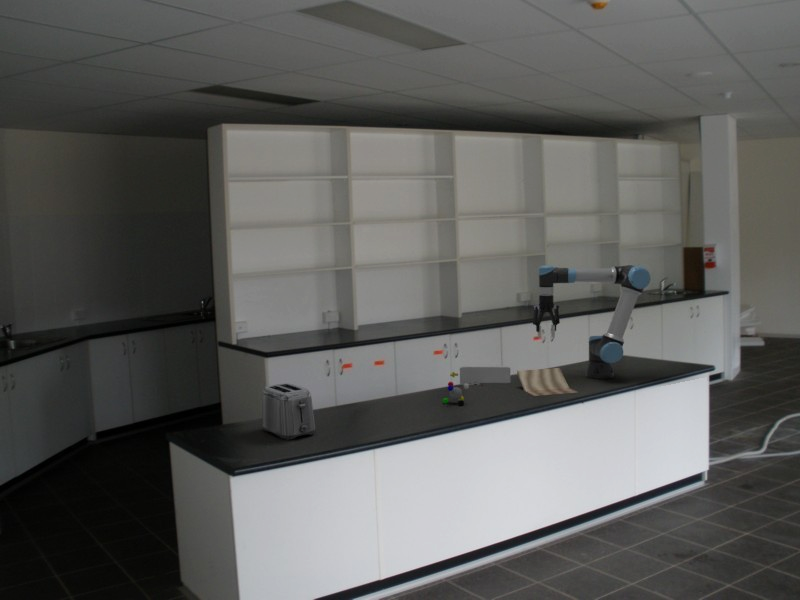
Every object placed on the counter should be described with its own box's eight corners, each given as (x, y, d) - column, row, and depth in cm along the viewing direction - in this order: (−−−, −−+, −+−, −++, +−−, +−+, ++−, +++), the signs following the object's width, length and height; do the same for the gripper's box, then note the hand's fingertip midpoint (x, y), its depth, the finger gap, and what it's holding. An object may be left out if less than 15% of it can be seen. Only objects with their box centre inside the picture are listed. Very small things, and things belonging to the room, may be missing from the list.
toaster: (285, 443, 307) (284, 396, 306) (254, 428, 331) (252, 384, 329) (321, 435, 317) (320, 390, 315) (288, 421, 341) (287, 379, 339)
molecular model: (472, 402, 372) (472, 382, 371) (459, 407, 361) (459, 387, 360) (452, 399, 378) (452, 380, 377) (439, 404, 368) (438, 384, 367)
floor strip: (569, 390, 393) (569, 388, 392) (578, 394, 383) (578, 392, 383) (526, 393, 387) (526, 391, 387) (534, 398, 377) (534, 395, 377)
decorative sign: (510, 384, 411) (510, 365, 410) (510, 385, 408) (510, 367, 407) (450, 383, 415) (450, 365, 414) (450, 385, 411) (449, 367, 410)
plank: (559, 369, 403) (559, 367, 403) (568, 389, 394) (569, 388, 393) (516, 372, 398) (517, 370, 397) (525, 393, 388) (526, 391, 387)
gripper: (560, 293, 412) (560, 335, 414) (525, 295, 407) (525, 337, 409) (566, 294, 404) (566, 337, 407) (531, 296, 399) (531, 339, 402)
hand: (546, 337), depth 408 cm, fingers open, 7 cm apart
